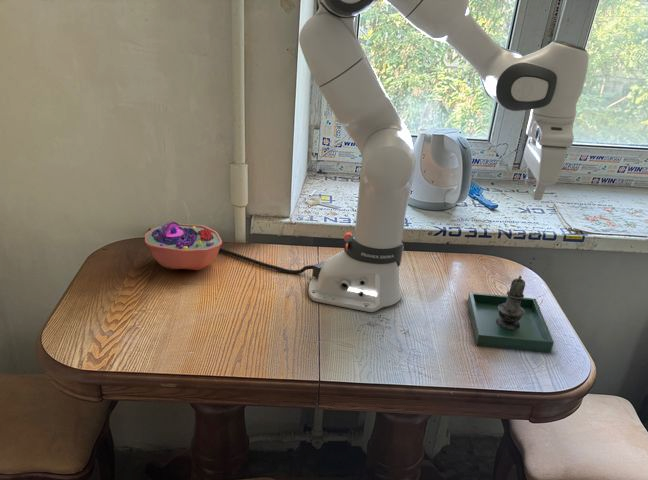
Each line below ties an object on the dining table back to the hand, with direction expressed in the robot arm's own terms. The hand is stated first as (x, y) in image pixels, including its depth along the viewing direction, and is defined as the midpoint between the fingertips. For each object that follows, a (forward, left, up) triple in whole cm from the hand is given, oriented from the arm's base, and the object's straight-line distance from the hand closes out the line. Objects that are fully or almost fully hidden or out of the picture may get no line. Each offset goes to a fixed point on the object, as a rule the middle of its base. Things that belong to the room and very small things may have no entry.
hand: (532, 192), depth 134 cm
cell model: (-81, -1, -27) cm, 85 cm away
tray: (-2, -15, -26) cm, 30 cm away
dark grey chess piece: (-2, -15, -26) cm, 30 cm away
